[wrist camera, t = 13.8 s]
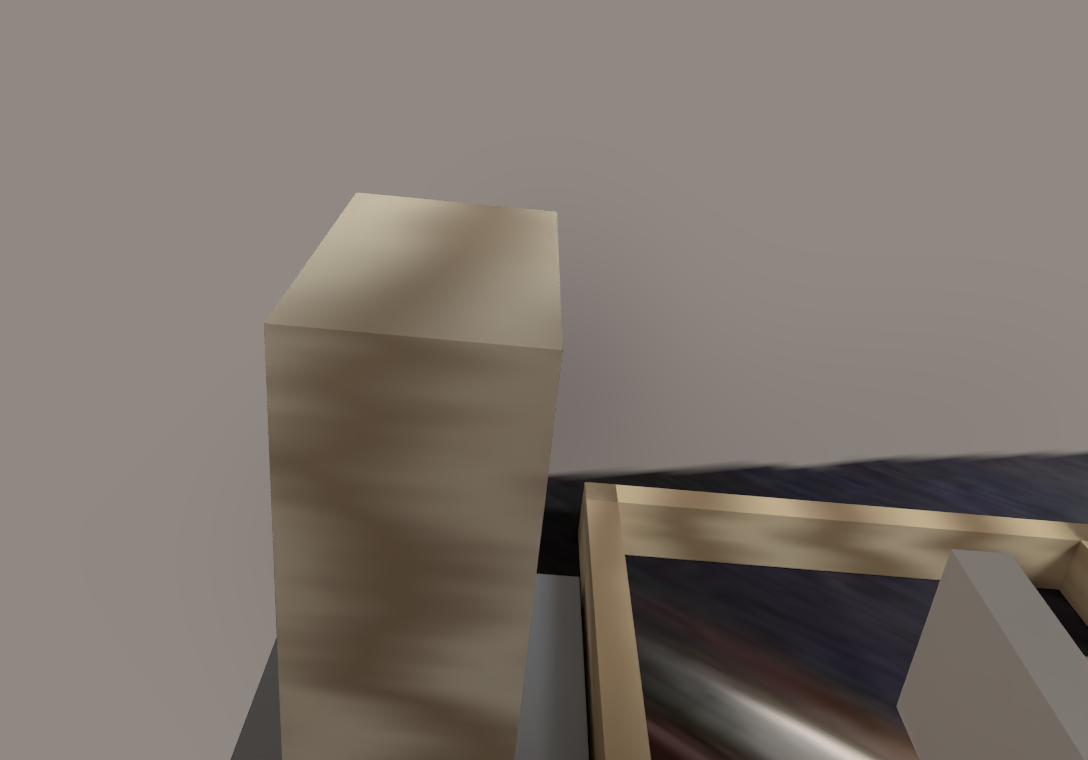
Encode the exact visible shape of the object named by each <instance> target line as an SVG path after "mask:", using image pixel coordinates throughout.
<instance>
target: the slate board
mask: <svg viewBox="0 0 1088 760" xmlns="http://www.w3.org/2000/svg"><path fill="white" fill-rule="evenodd" d="M231 760H282V747H281V723H280V699H279V675H278V651H277V638H276V641H275V644H274V646H273V649H272V651H271V654H270V657H269V659H268V662H267V665H266V668H265V670H264V673H263V675H262V678H261V681H260V683H259V686H258V689H257V691H256V694H255V696H254V699H253V702H252V705H251V707H250V710H249V712H248V715H247V718H246V720H245V723H244V726H243V728H242V731H241V734H240V736H239V739H238V742H237V744H236V747H235V750H234V752H233V755H232V757H231ZM514 760H589V751H588V732H587V714H586V695H585V676H584V658H583V639H582V620H581V602H580V583H579V577H573V576H560V575H547V574H536V580H535V589H534V597H533V606H532V614H531V623H530V631H529V639H528V648H527V656H526V665H525V673H524V681H523V690H522V698H521V707H520V715H519V724H518V732H517V740H516V749H515V757H514Z"/></svg>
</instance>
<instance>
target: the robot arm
mask: <svg viewBox="0 0 1088 760" xmlns="http://www.w3.org/2000/svg"><path fill="white" fill-rule="evenodd" d="M896 707H897V709H898V711H899V714H900V716H901V718H902V721H903V723H904V725H905V727H906V730H907V732H908V734H909V737H910V739H911V741H912V743H913V746H914V748H915V750H916V753H917V755H918V757H919V760H1088V660H1087V659H1086V657H1085V656H1084V655H1083V653H1082V652H1081V650H1080V649H1079V648H1078V646H1077V645H1076V644H1075V642H1074V641H1073V639H1072V638H1071V637H1070V635H1069V634H1068V632H1067V631H1066V630H1065V628H1064V627H1063V625H1062V624H1061V623H1060V621H1059V620H1058V619H1057V617H1056V616H1055V614H1054V613H1053V612H1052V610H1051V609H1050V607H1049V606H1048V605H1047V603H1046V602H1045V601H1044V599H1043V598H1042V596H1041V595H1040V594H1039V592H1038V591H1037V589H1036V588H1035V587H1034V585H1033V584H1032V583H1031V581H1030V580H1029V578H1028V577H1027V576H1026V574H1025V573H1024V571H1023V570H1022V569H1021V567H1020V566H1019V564H1018V563H1017V562H1016V560H1015V559H1014V558H1013V556H1012V555H1011V553H1000V552H986V551H971V550H957V549H951V551H950V554H949V557H948V560H947V563H946V566H945V568H944V571H943V574H942V577H941V580H940V583H939V586H938V589H937V591H936V594H935V597H934V600H933V603H932V606H931V609H930V612H929V614H928V617H927V620H926V623H925V626H924V629H923V632H922V635H921V637H920V640H919V643H918V646H917V649H916V652H915V655H914V657H913V660H912V663H911V666H910V669H909V672H908V675H907V678H906V680H905V683H904V686H903V689H902V692H901V695H900V698H899V701H898V703H897V706H896Z"/></svg>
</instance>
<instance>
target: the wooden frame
mask: <svg viewBox="0 0 1088 760" xmlns="http://www.w3.org/2000/svg"><path fill="white" fill-rule="evenodd" d="M578 543H579V561H580V579H581V597H582V615H583V633H584V651H585V669H586V687H587V705H588V723H589V741H590V759H591V760H651V757H650V749H649V741H648V733H647V725H646V717H645V710H644V702H643V694H642V686H641V678H640V671H639V663H638V655H637V647H636V639H635V632H634V624H633V616H632V608H631V600H630V593H629V585H628V577H627V569H626V561H625V555H635V556H648V557H660V558H672V559H685V560H697V561H710V562H722V563H735V564H747V565H759V566H772V567H784V568H797V569H809V570H821V571H834V572H846V573H859V574H871V575H883V576H896V577H908V578H921V579H933V580H941V577H942V574H943V571H944V568H945V566H946V563H947V560H948V557H949V554H950V551H951V549H957V550H971V551H986V552H1000V553H1011V555H1012V556H1013V558H1014V559H1015V560H1016V562H1017V563H1018V564H1019V566H1020V567H1021V569H1022V570H1023V571H1024V573H1025V574H1026V576H1027V577H1028V578H1029V580H1030V581H1031V583H1032V584H1033V585H1034V587H1035V588H1045V589H1057V590H1060V592H1061V593H1062V594H1063V595H1064V597H1065V598H1066V599H1067V601H1068V602H1069V603H1070V604H1071V606H1072V607H1073V608H1074V610H1075V611H1076V612H1077V613H1078V615H1079V616H1080V617H1081V619H1082V620H1083V621H1084V622H1085V624H1086V625H1087V626H1088V524H1079V523H1067V522H1055V521H1043V520H1031V519H1019V518H1007V517H995V516H983V515H971V514H959V513H947V512H936V511H924V510H912V509H900V508H888V507H876V506H864V505H852V504H840V503H828V502H816V501H804V500H793V499H781V498H769V497H757V496H745V495H733V494H721V493H709V492H697V491H685V490H673V489H662V488H650V487H638V486H626V485H614V484H602V483H590V482H585V486H584V493H583V500H582V507H581V514H580V521H579V529H578Z"/></svg>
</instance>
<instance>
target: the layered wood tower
mask: <svg viewBox="0 0 1088 760" xmlns="http://www.w3.org/2000/svg"><path fill="white" fill-rule="evenodd" d="M264 338H265V361H266V385H267V407H268V408H267V410H268V434H269V456H270V457H269V458H270V481H271V505H272V529H273V554H274V577H275V603H276V627H277V651H278V675H279V699H280V723H281V747H282V760H514V757H515V749H516V740H517V732H518V724H519V715H520V707H521V698H522V690H523V681H524V673H525V665H526V656H527V648H528V639H529V631H530V623H531V614H532V606H533V597H534V589H535V580H536V572H537V564H538V555H539V547H540V538H541V530H542V522H543V513H544V505H545V496H546V488H547V479H548V471H549V463H550V454H551V446H552V437H553V429H554V421H555V411H556V404H557V395H558V387H559V378H560V370H561V362H562V352H563V342H562V319H561V296H560V274H559V251H558V228H557V212H552V211H542V210H530V209H521V208H510V207H501V206H489V205H480V204H469V203H459V202H449V201H439V200H428V199H418V198H407V197H397V196H387V195H377V194H366V193H356V194H355V195H354V197H353V198H352V200H351V201H350V203H349V204H348V205H347V207H346V208H345V210H344V211H343V212H342V214H341V215H340V217H339V218H338V219H337V221H336V222H335V224H334V225H333V227H332V228H331V229H330V231H329V232H328V234H327V235H326V236H325V238H324V239H323V241H322V242H321V244H320V245H319V246H318V248H317V249H316V250H315V252H314V253H313V255H312V256H311V258H310V259H309V260H308V262H307V263H306V265H305V266H304V267H303V269H302V270H301V272H300V273H299V274H298V276H297V277H296V279H295V280H294V281H293V283H292V284H291V286H290V287H289V289H288V290H287V291H286V293H285V294H284V296H283V297H282V298H281V300H280V301H279V303H278V304H277V306H276V307H275V308H274V310H273V311H272V313H271V314H270V315H269V317H268V318H267V320H266V321H265V322H264Z"/></svg>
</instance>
